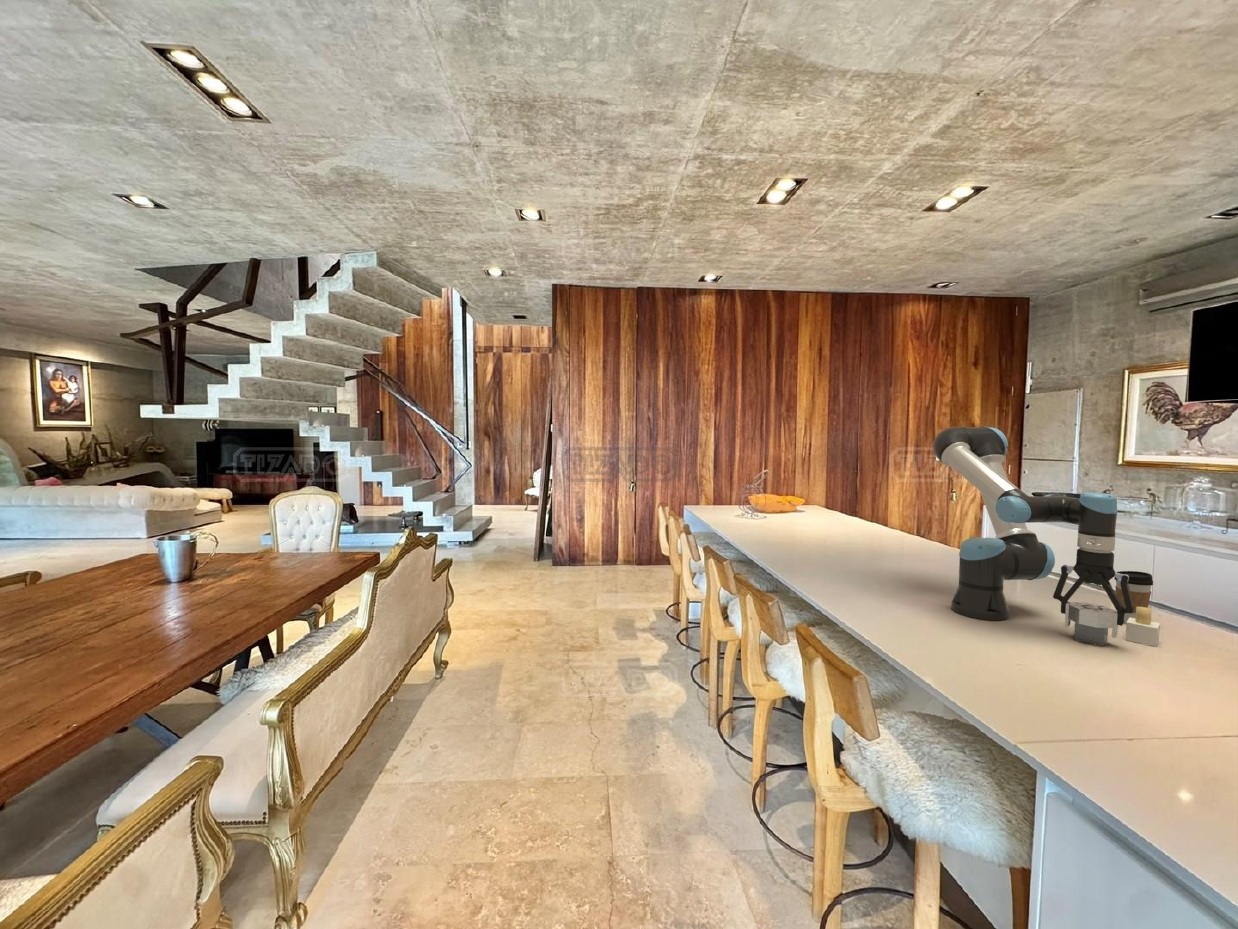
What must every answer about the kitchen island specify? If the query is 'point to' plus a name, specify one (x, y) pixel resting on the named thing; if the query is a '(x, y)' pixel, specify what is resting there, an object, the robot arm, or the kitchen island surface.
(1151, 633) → the hub
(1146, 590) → the coffee cup
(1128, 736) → the kitchen island surface
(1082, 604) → the ring
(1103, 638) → the stand
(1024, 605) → the kitchen island surface
